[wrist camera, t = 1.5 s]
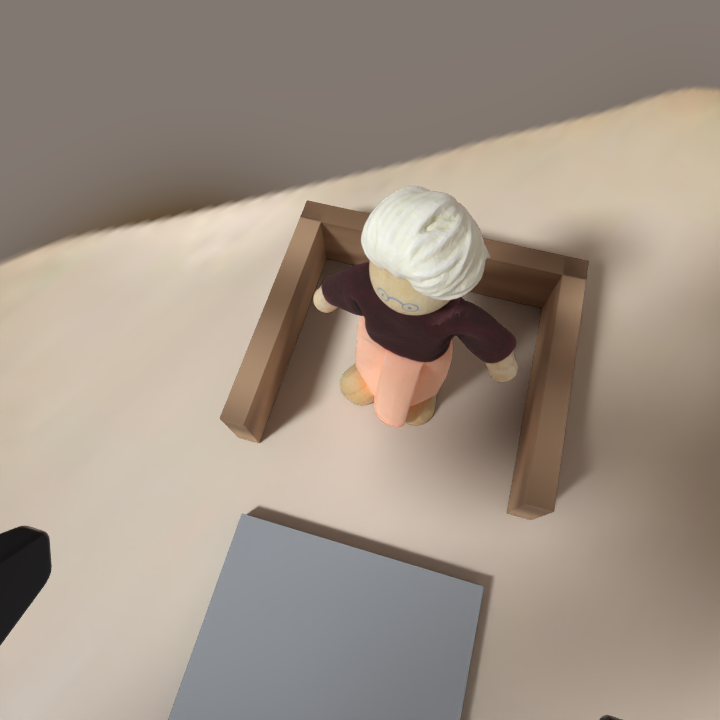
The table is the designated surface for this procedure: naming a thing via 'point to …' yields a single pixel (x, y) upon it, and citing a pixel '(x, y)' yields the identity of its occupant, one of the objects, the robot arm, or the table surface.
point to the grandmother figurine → (415, 305)
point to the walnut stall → (500, 279)
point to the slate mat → (327, 635)
